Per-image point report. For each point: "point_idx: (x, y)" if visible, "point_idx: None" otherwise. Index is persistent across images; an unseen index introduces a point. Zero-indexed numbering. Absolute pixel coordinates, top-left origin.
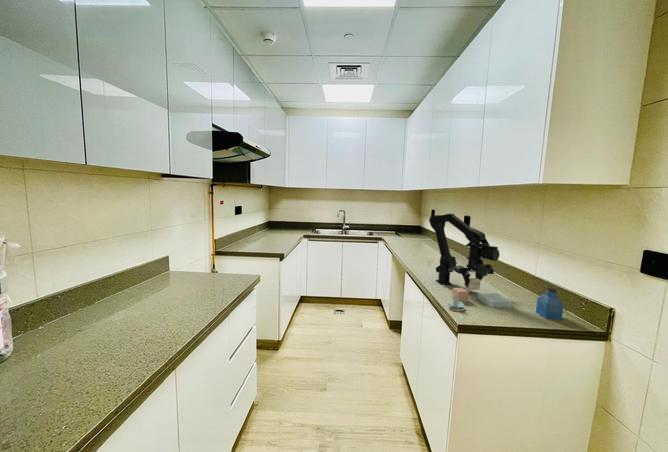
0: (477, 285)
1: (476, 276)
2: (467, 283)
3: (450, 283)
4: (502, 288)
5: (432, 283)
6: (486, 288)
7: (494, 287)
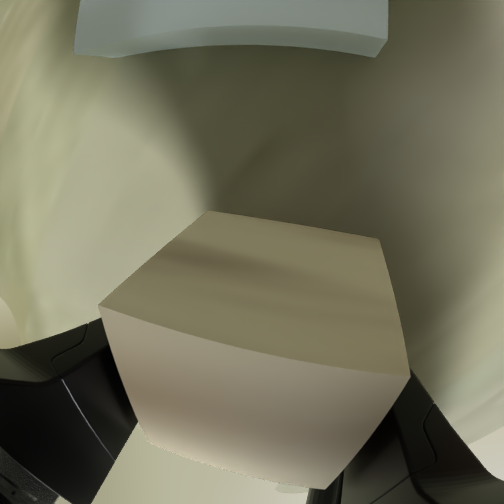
0: (224, 250)
1: (113, 436)
2: None
3: None
4: (8, 269)
5: None
6: (79, 302)
7: (35, 297)
